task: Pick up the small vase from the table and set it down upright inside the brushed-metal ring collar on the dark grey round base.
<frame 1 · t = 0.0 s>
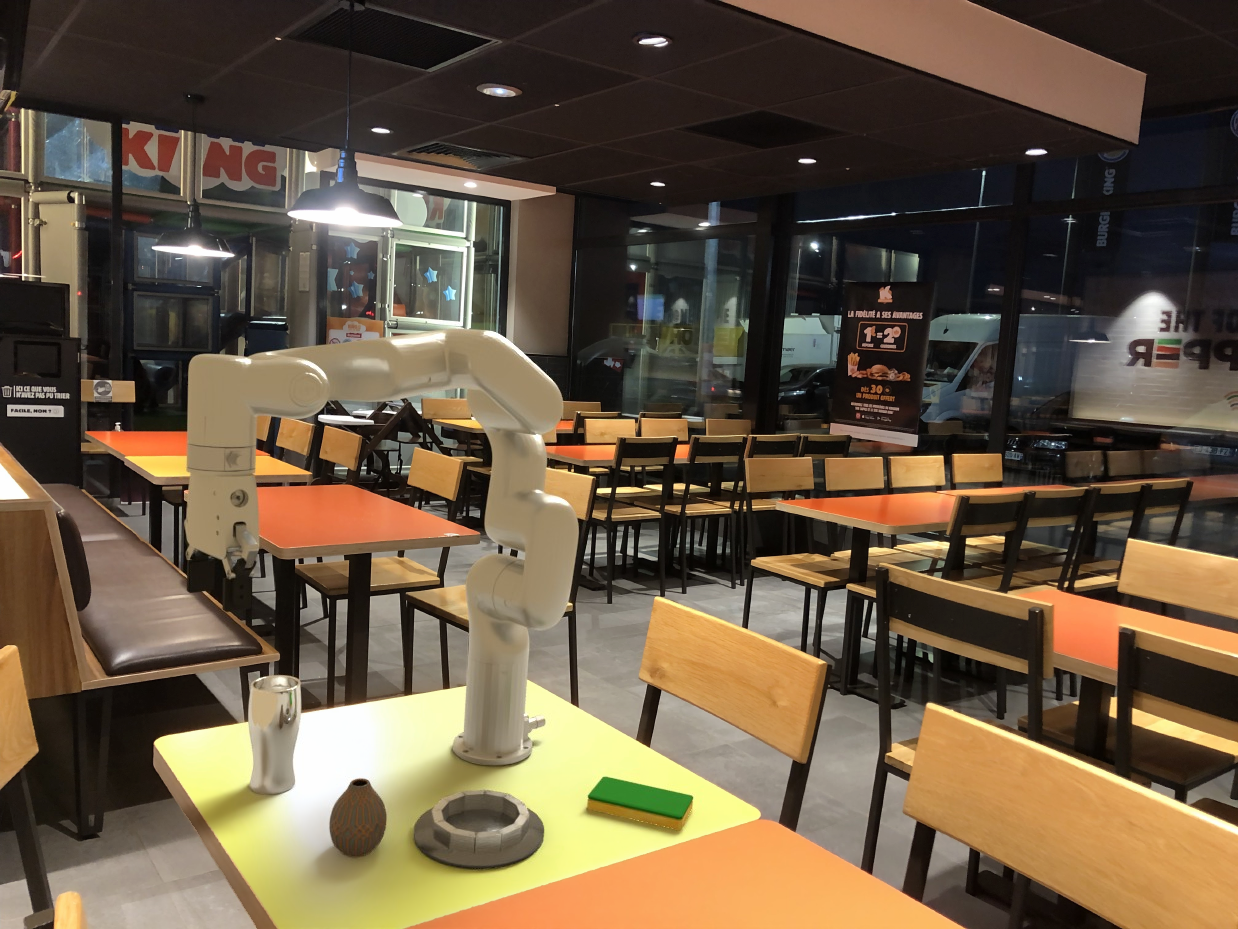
hand: (218, 600, 111), 31 cm above the table, tool pointing down, fingers open, 9 cm apart
beer glass: (272, 786, 131), on the table
dish sponge: (639, 812, 133), on the table
ring seat: (479, 833, 122), on the table
vase: (356, 850, 117), on the table
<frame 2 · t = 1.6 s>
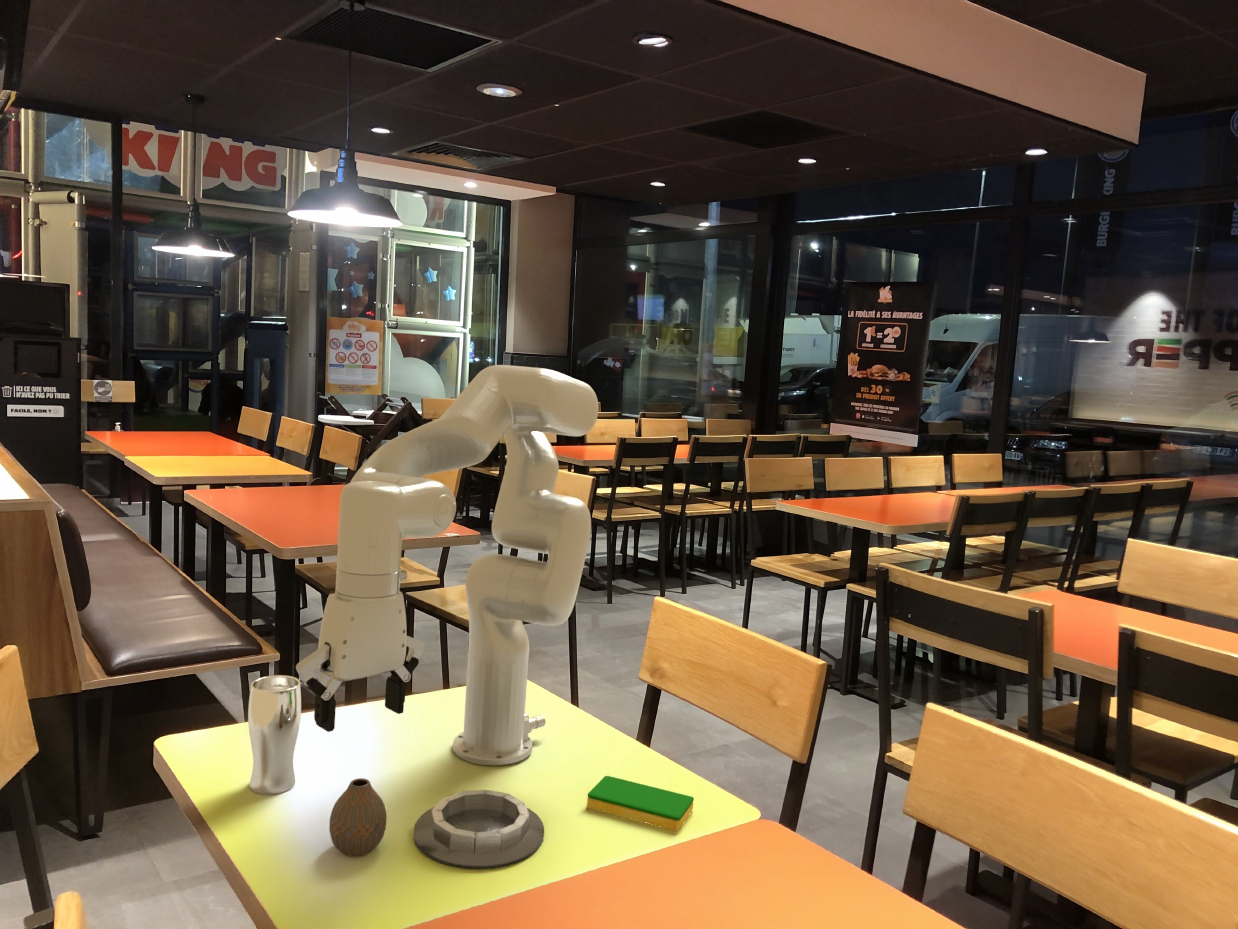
hand: (360, 719, 114), 17 cm above the table, tool pointing down, fingers open, 9 cm apart
nothing on the table moved.
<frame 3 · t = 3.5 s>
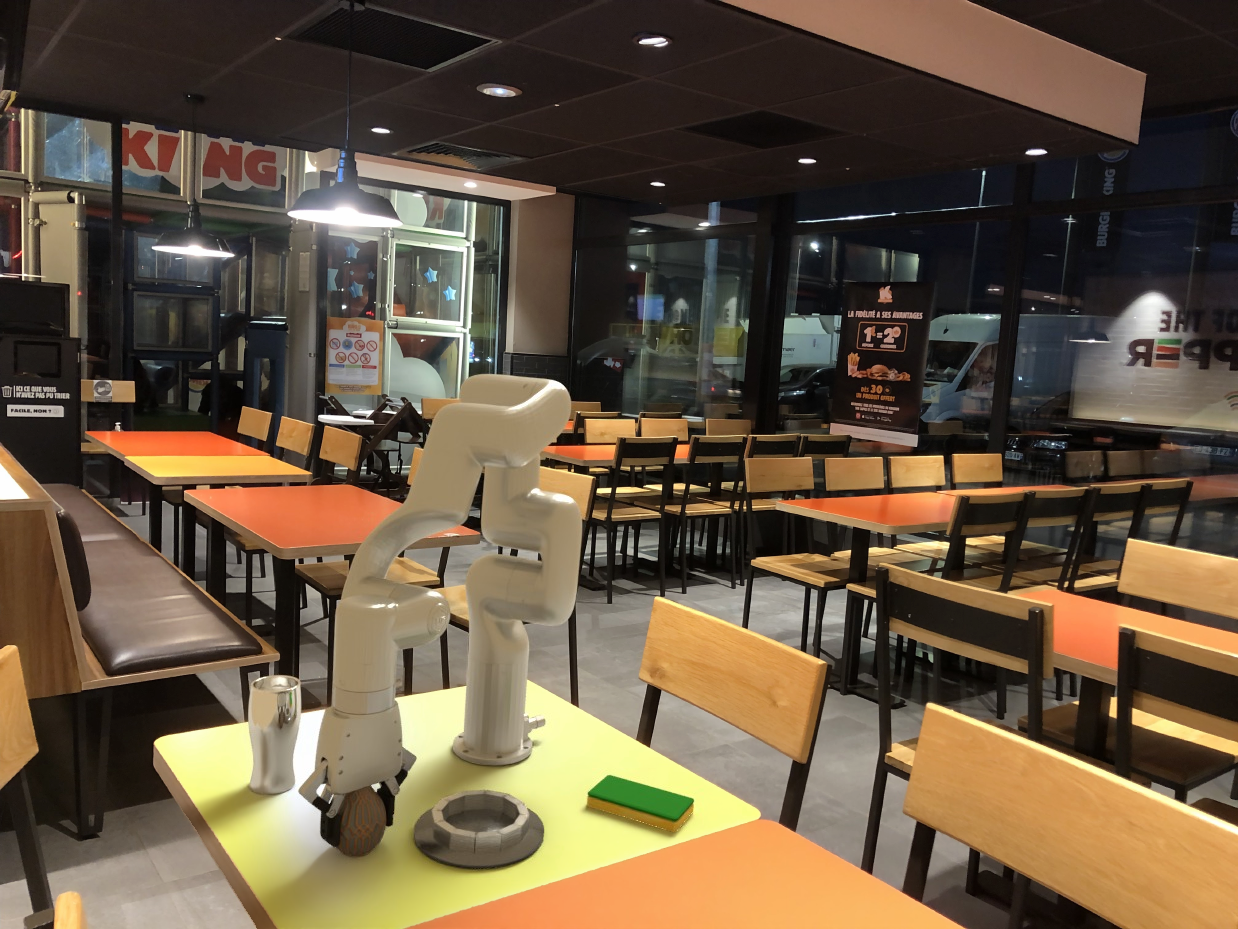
hand: (357, 831, 116), 2 cm above the table, tool pointing down, fingers closed on vase, 6 cm apart
vase: (356, 850, 117), on the table, touching gripper
everything else where it was.
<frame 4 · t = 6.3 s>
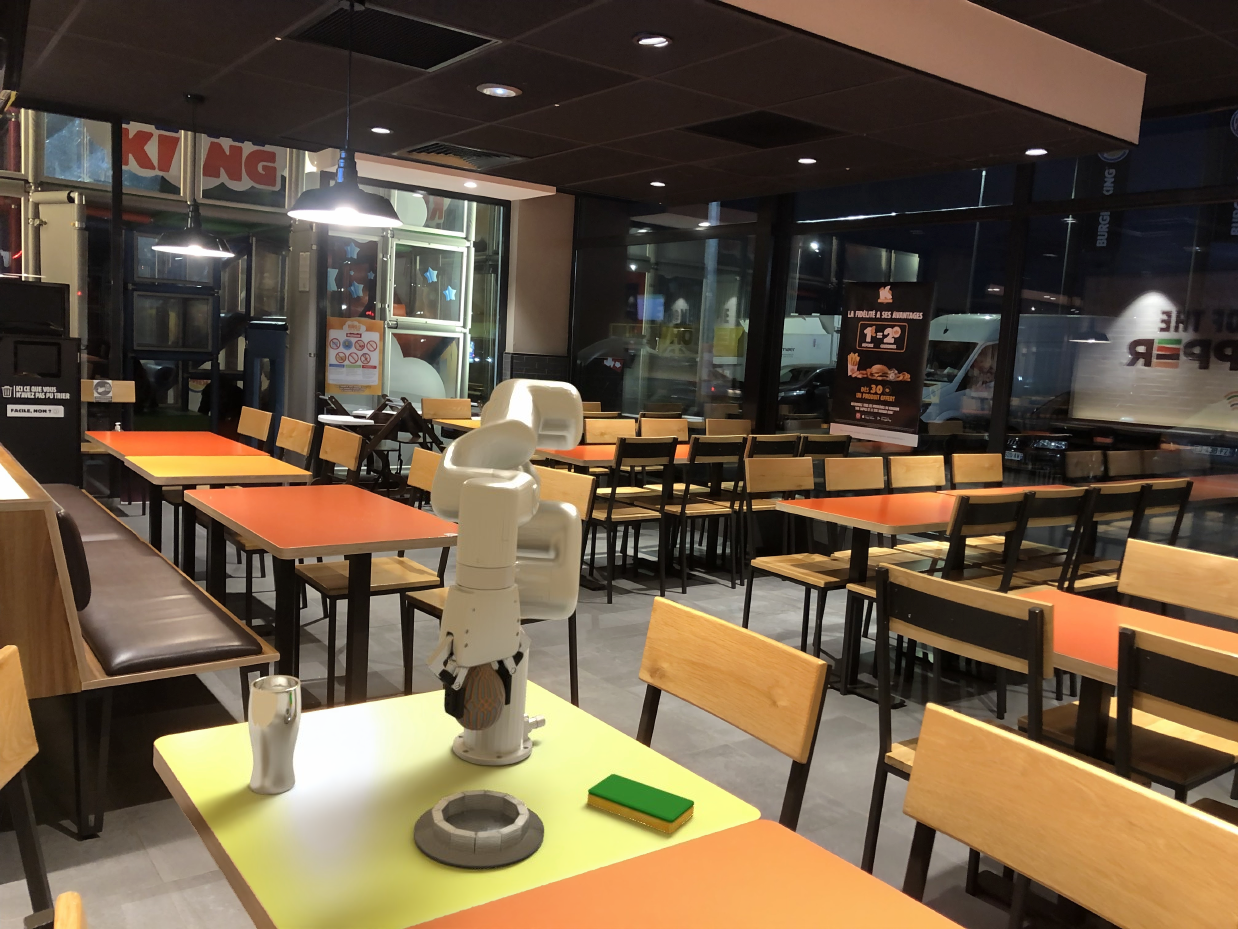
hand: (477, 707, 120), 17 cm above the table, tool pointing down, fingers closed on vase, 6 cm apart
vase: (476, 726, 120), point 15 cm above the table, touching gripper
everything else where it was.
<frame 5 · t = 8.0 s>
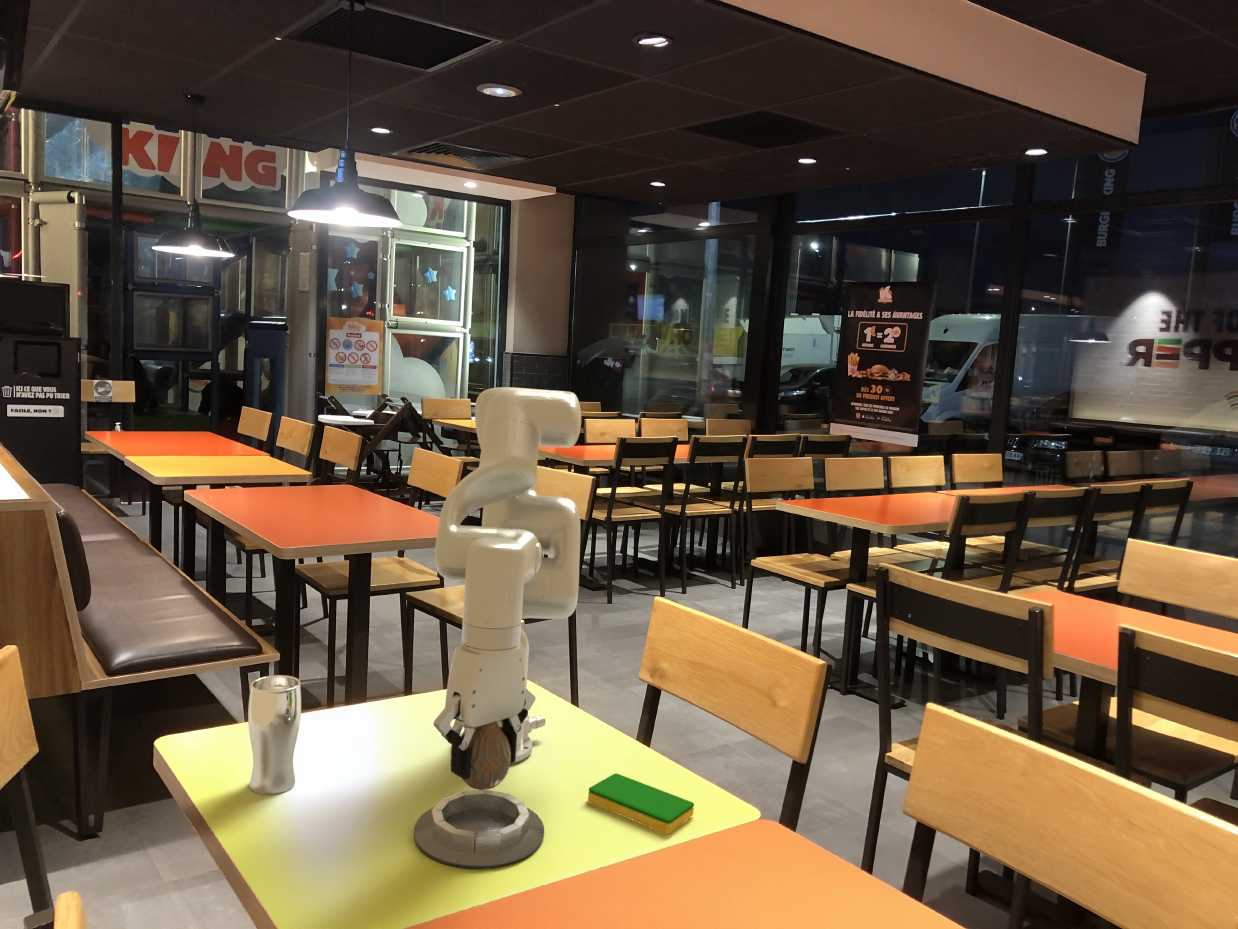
hand: (483, 766, 121), 9 cm above the table, tool pointing down, fingers closed on vase, 6 cm apart
vase: (482, 784, 121), point 7 cm above the table, touching gripper
when the fingers open (5 cm above the table, at t = 9.5 s): vase drops 1 cm, resting on ring seat.
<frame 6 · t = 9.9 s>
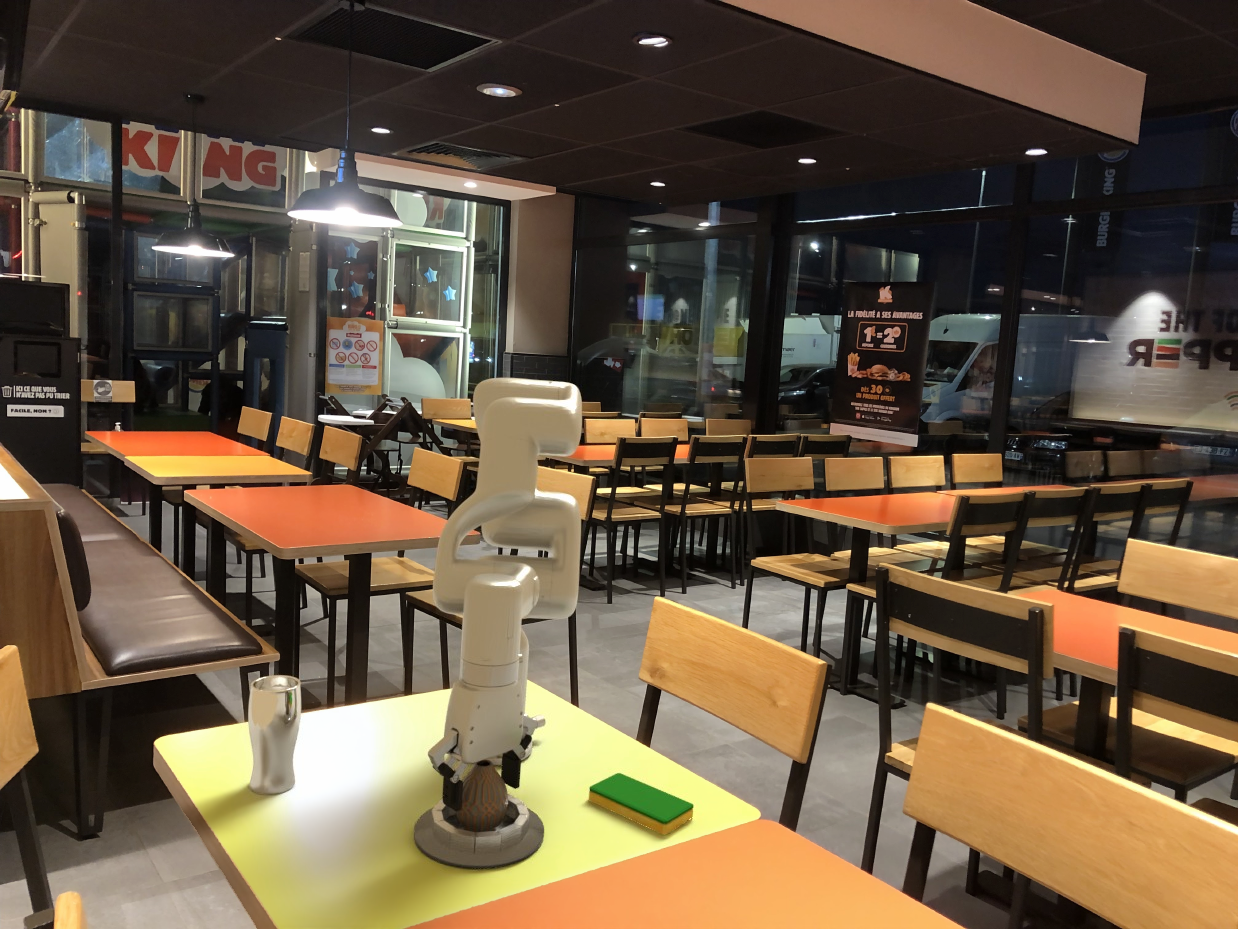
hand: (481, 795, 122), 5 cm above the table, tool pointing down, fingers open, 9 cm apart
vase: (479, 828, 122), point 1 cm above the table, touching ring seat
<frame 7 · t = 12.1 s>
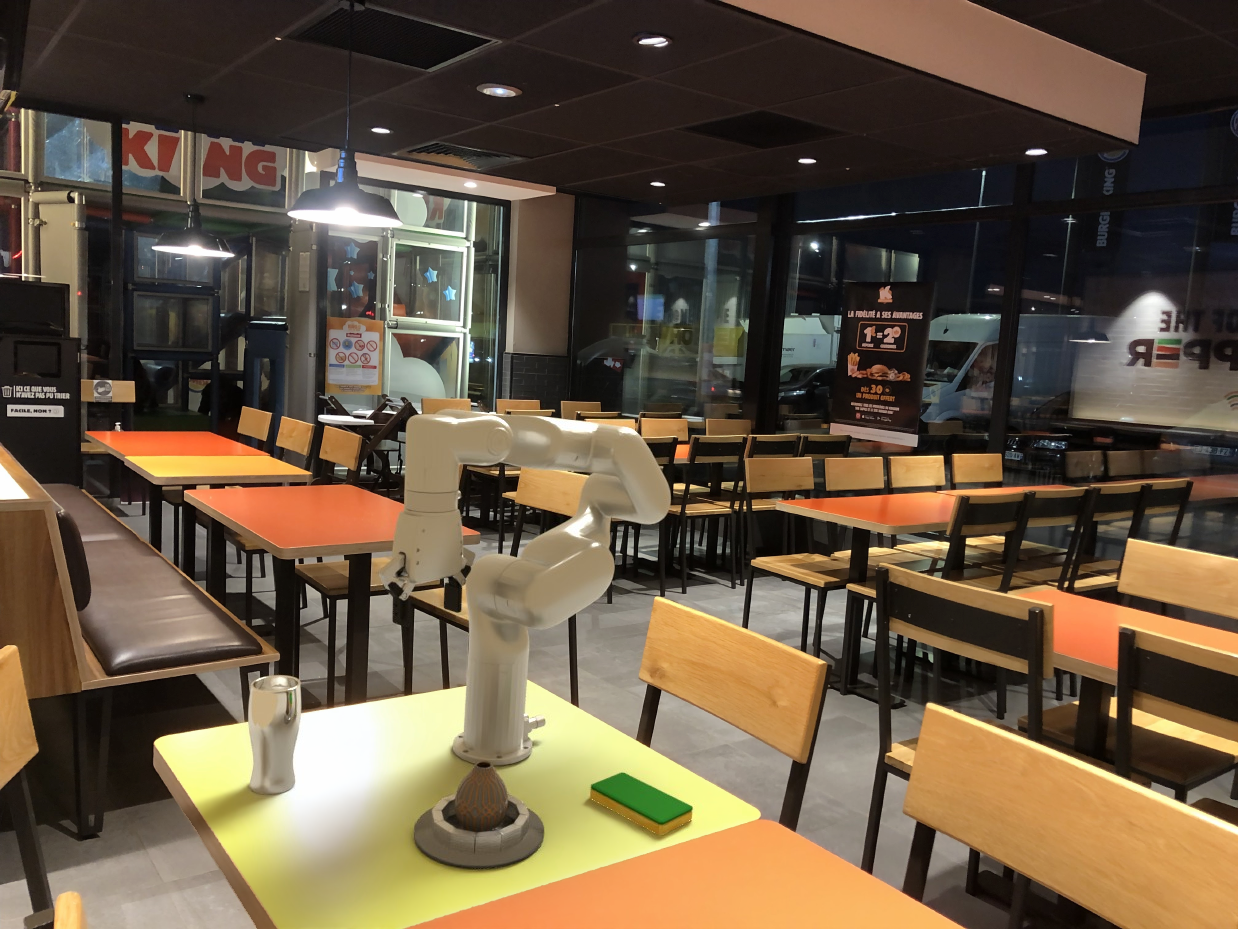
hand: (427, 617, 134), 24 cm above the table, tool pointing down, fingers open, 9 cm apart
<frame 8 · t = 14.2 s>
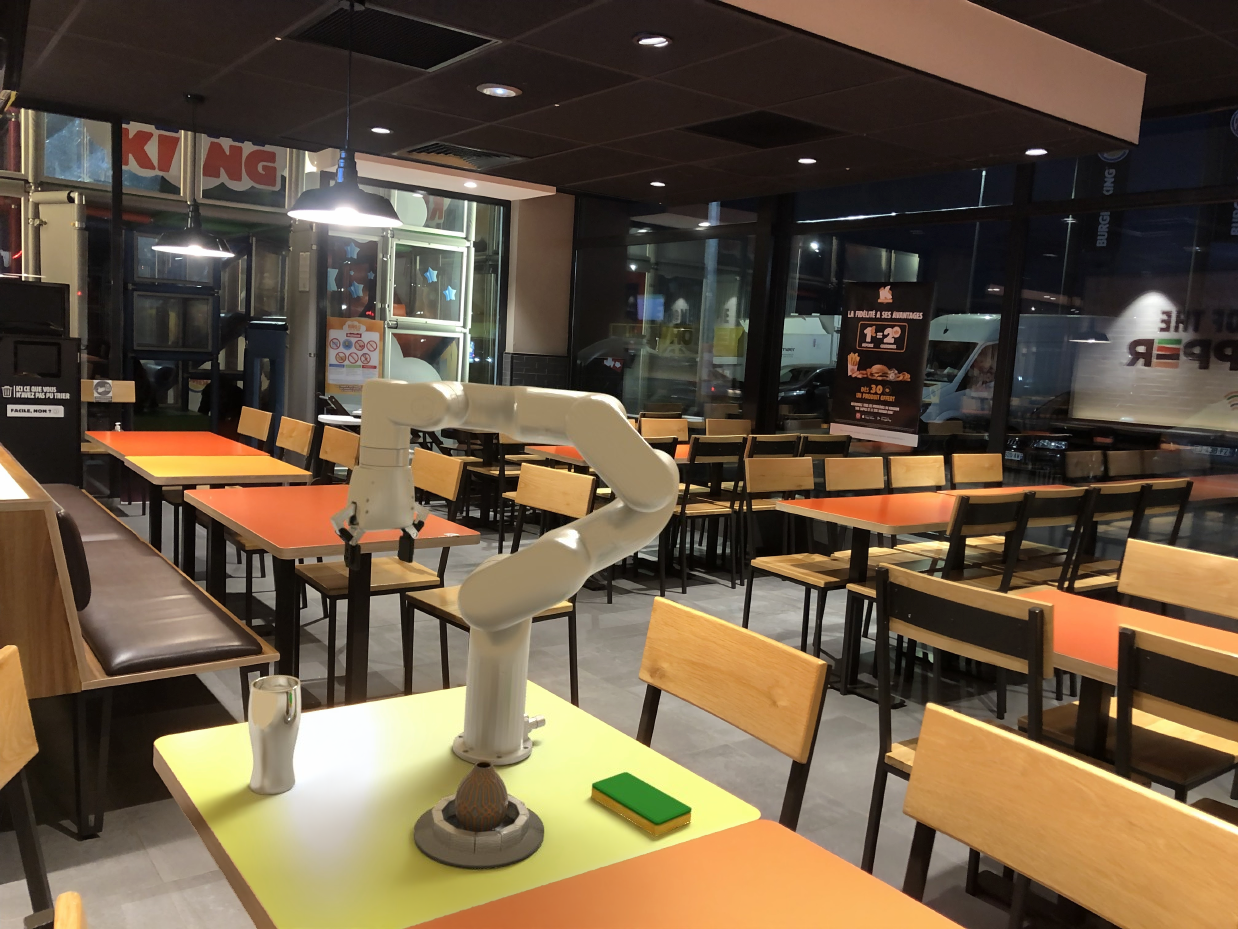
hand: (379, 564, 147), 28 cm above the table, tool pointing down, fingers open, 9 cm apart
at the end: vase 0.1 cm off-centre on the ring seat, point 0.6 cm above the ring seat's base; vase tilted 0°; the gripper is holding nothing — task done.
